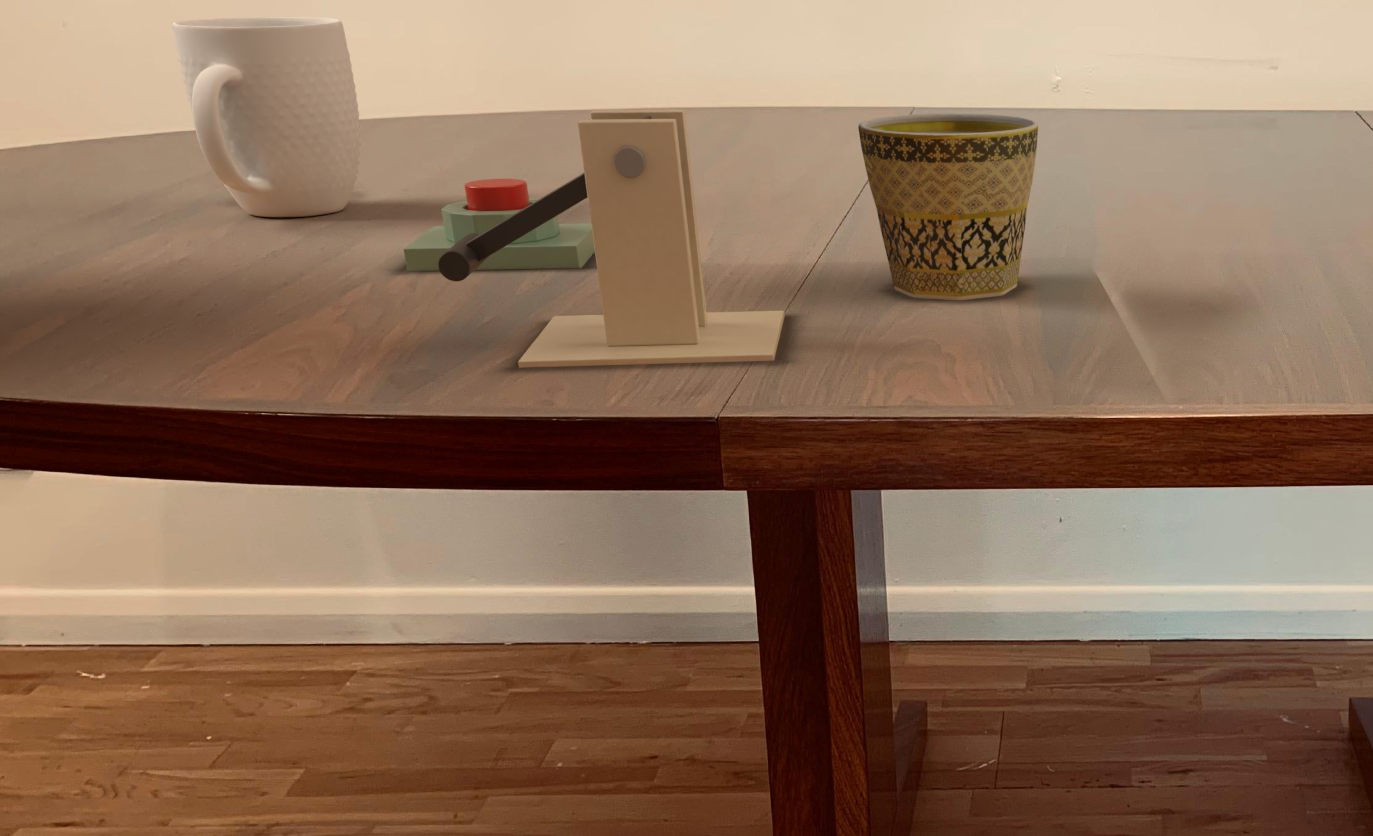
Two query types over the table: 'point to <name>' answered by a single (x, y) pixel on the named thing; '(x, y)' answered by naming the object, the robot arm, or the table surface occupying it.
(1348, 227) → the table surface
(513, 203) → the button
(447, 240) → the button box
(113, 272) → the table surface
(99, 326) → the table surface
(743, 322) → the bracket
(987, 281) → the ceramic cup
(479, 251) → the lever
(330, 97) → the mug
